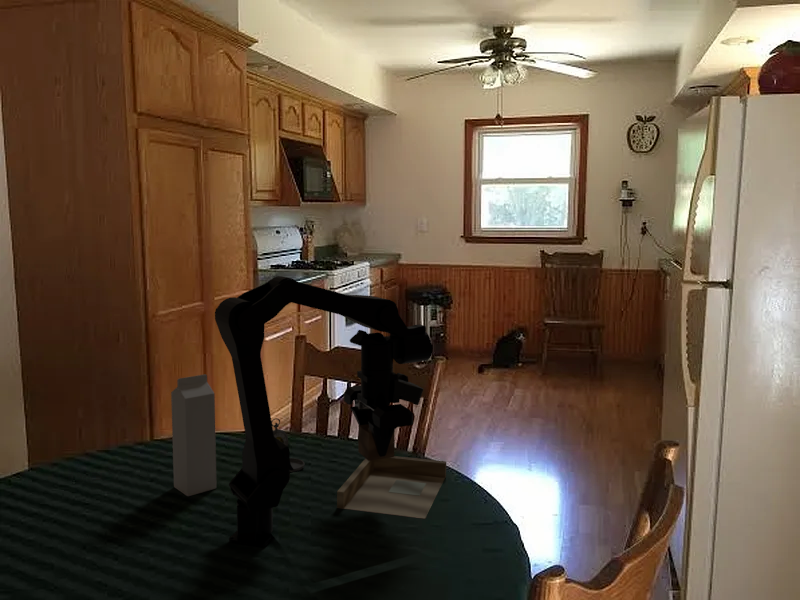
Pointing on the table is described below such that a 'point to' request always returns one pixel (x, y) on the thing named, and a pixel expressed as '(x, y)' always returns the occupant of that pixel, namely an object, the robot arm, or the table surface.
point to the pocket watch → (283, 437)
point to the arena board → (393, 486)
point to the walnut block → (372, 444)
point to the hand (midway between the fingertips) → (376, 451)
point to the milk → (193, 435)
